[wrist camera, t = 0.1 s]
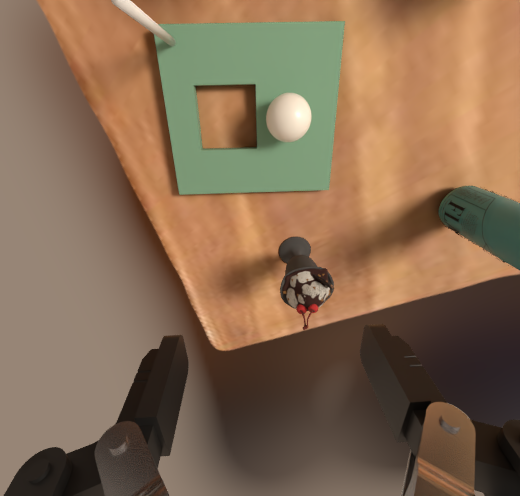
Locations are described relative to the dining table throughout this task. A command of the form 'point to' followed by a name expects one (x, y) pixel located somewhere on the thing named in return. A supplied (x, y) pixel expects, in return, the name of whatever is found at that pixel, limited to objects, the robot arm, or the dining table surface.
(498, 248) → the beverage bottle
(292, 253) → the sundae
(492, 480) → the robot arm
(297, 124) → the ball
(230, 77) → the putting deck
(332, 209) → the dining table surface
